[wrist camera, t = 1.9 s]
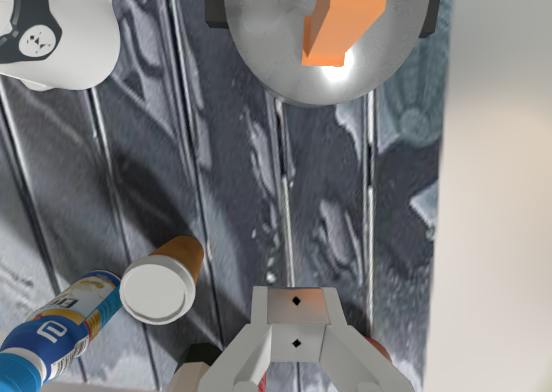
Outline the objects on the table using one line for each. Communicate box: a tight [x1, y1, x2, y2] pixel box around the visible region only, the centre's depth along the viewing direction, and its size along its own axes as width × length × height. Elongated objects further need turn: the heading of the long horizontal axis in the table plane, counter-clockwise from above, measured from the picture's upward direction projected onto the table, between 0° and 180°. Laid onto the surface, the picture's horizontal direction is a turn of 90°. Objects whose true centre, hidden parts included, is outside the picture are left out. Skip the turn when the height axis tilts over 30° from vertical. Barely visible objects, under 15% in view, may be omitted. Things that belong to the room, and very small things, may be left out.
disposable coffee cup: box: [119, 235, 204, 325], centre depth 40 cm, size 10×10×12 cm
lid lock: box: [301, 0, 386, 67], centre depth 20 cm, size 4×4×12 cm
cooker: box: [205, 0, 440, 108], centre depth 30 cm, size 19×24×17 cm
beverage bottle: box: [0, 270, 123, 392], centre depth 38 cm, size 8×8×20 cm
